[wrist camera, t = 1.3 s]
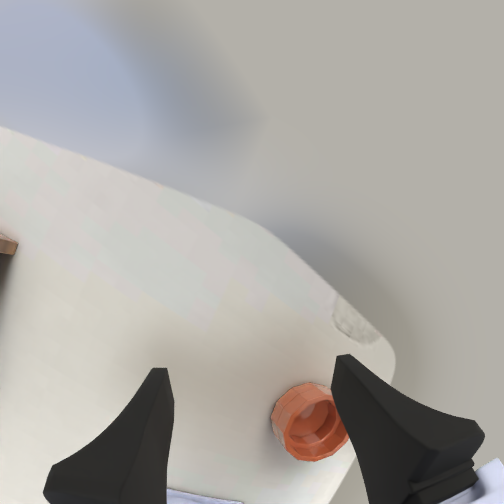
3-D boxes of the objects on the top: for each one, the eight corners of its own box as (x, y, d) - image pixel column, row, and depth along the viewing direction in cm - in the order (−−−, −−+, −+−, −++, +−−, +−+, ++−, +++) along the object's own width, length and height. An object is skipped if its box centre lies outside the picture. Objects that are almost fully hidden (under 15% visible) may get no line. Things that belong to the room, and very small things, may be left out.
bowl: (342, 388, 25) (364, 401, 21) (318, 444, 24) (336, 463, 20) (283, 374, 24) (301, 389, 20) (259, 435, 23) (272, 457, 19)
